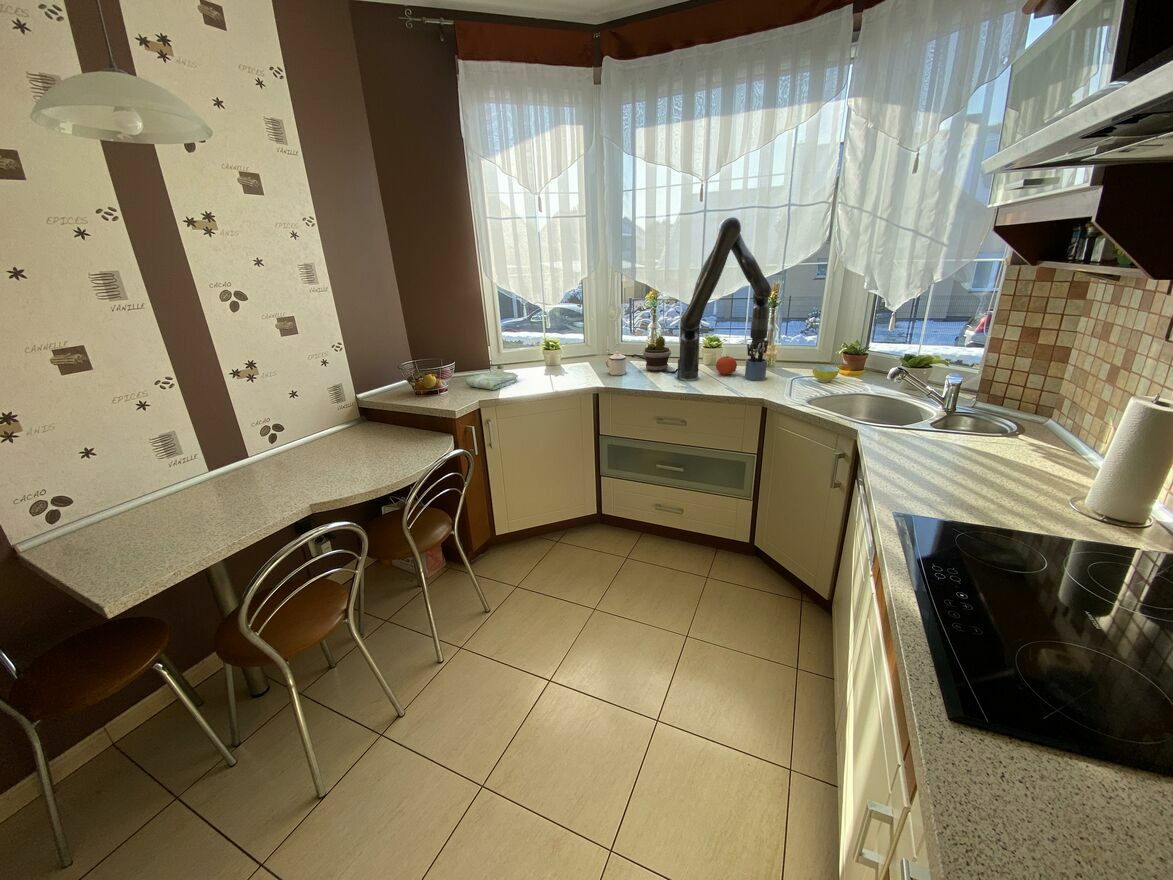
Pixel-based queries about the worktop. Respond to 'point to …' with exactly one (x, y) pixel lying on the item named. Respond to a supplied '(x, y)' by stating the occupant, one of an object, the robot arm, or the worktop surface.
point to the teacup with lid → (617, 364)
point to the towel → (492, 380)
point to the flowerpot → (657, 355)
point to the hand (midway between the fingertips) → (756, 363)
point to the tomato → (726, 365)
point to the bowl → (825, 372)
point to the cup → (755, 370)
